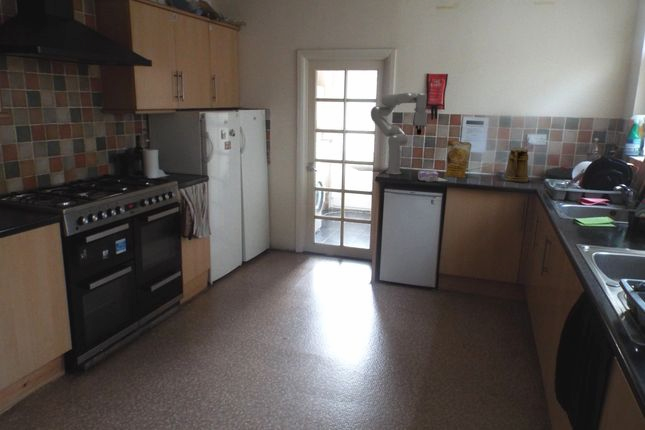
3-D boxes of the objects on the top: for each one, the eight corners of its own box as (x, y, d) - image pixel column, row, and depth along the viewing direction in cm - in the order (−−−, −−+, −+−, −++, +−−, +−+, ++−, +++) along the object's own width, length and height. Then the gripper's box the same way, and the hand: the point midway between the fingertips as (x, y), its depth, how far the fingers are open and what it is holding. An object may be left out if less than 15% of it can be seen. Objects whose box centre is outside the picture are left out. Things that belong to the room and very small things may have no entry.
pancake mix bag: (445, 174, 393) (448, 140, 386) (468, 177, 382) (472, 142, 375) (442, 175, 387) (445, 140, 381) (465, 178, 376) (469, 142, 370)
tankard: (529, 180, 377) (533, 148, 371) (526, 184, 357) (530, 150, 351) (504, 177, 385) (508, 146, 379) (500, 181, 365) (504, 149, 359)
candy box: (436, 170, 372) (438, 173, 357) (435, 177, 374) (438, 181, 358) (418, 169, 374) (420, 172, 358) (417, 177, 375) (419, 180, 359)
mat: (418, 178, 371) (418, 178, 371) (438, 177, 376) (439, 177, 376) (426, 181, 358) (426, 181, 358) (448, 181, 363) (448, 180, 363)
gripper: (413, 110, 359) (412, 135, 364) (431, 110, 363) (429, 135, 368) (409, 109, 366) (407, 134, 371) (427, 110, 370) (425, 134, 375)
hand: (418, 134), depth 369 cm, fingers closed
